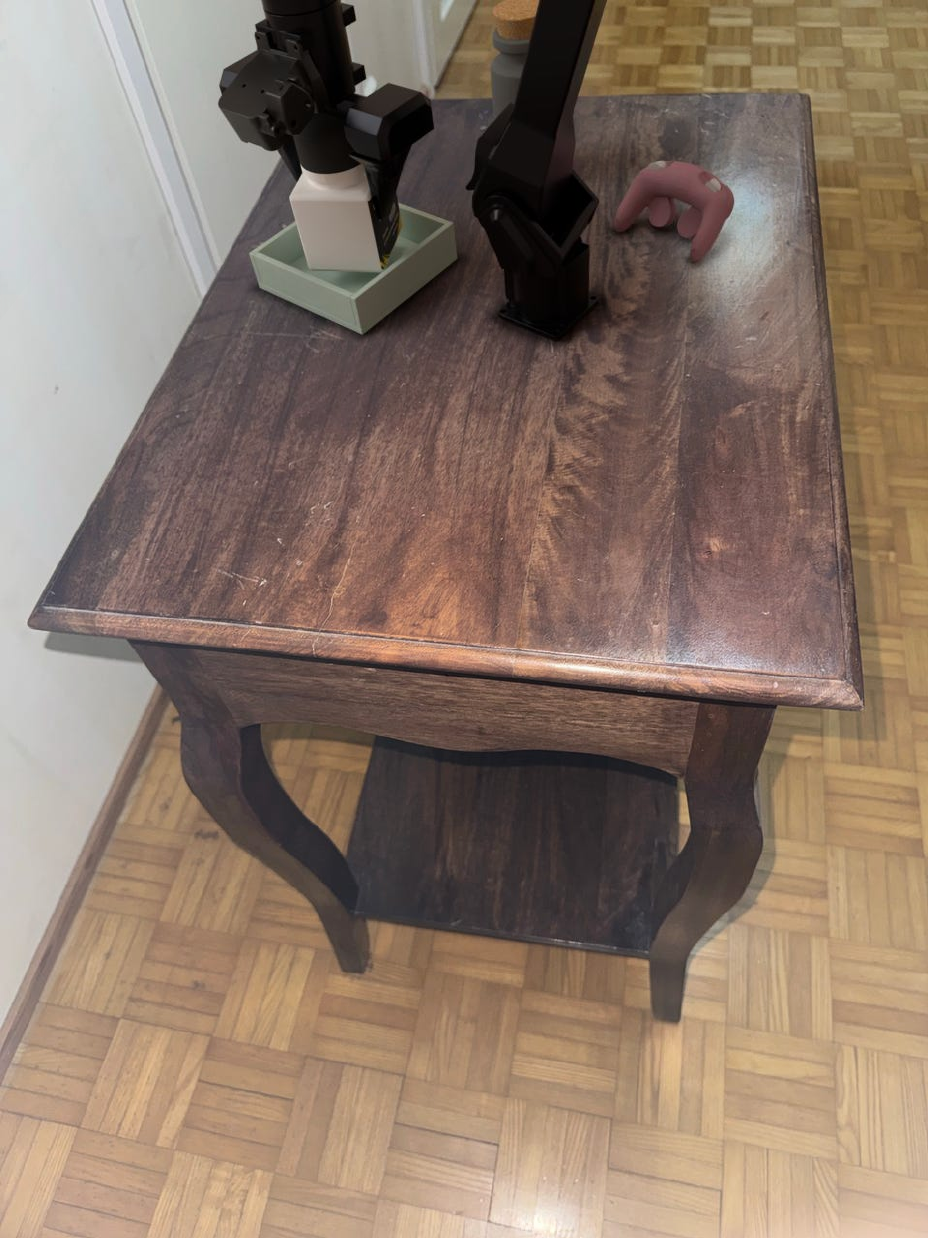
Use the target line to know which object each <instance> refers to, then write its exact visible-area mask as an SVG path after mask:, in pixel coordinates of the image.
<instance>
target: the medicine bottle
mask: <svg viewBox="0 0 928 1238" xmlns="http://www.w3.org/2000/svg"><path fill="white" fill-rule="evenodd" d="M344 124H345V120H342V119H339V118H336V117H333V116H329V115H326V114H323V113H314V116H313V117H312V119H311V120H310V121H309V123H308V124H307V125H306V127H305V128H304V129H303V131H302V132H301V133H300V135H299V136H293V138H294V142H295V146H296V149H297V153H298V157H299V161H300V165H301V169H302V172H303V173H302V175H301V177H300V178H299V180H298V182H296V184H295V185H294V188H293V189H292V190H291V193H290V194H289V203H290V206H291V209H292V214H293V217H294V222H295V221H296V224H297V228H298V231H299V235H300V238H301V242H302V246H303V249H304V253H305V256H306V260H307V263H308V267H309V269H310V270H312V271H344V272H378V273H381V272H383V271H384V270H385V268H386V265H387V263H388V261H389V258H390V256H391V253H392V251H393V249H394V246H395V244H396V241H397V239H398V237H399V234H400V232H401V230H402V221H401V215H400V210H399V204H398V203H399V198H398V194H397V192H396V195H395V198H394V202H393V206H392V209H391V213H390V215H389V216H388V217H387V218H386V219H384V220H383V221H382V220H379V219H378V216H377V214H376V211H375V208H374V205H373V201H372V197H371V193H370V189H369V185H368V180H367V176H366V172H365V168H364V166H363V165H362V164H361V163H359V162H358V161H356V160H355V159H353V158H352V157H350V156H349V153H351V152H352V151H354V149H353V147H352V146H351V145H350V143H349V142H348V141H347V138H346V133H345V128H344Z"/></svg>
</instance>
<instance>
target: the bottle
mask: <svg viewBox="0 0 928 1238" xmlns="http://www.w3.org/2000/svg"><path fill="white" fill-rule="evenodd" d="M538 4H539V0H503V1H501V2H499V3H498V4H496V5H495V6H494V7H493V10H492V14H493V18H494V22H495V26H496V27H495V28H494V30H493V31H492V33H491V35H492V46H493V47H494V49H495V50H496V51H498V52H499V53H498V54H497V55H496V56H495V57H494V58H493V59H492V61H491V63H490V83H491V84H490V85H491V99H492V113H493V117H492V118H493V120H494V119H495V118H496V116H497V115H498V114H499V113H500V112H501V110H502V109H503V108H504V107H505V106H506V104H507V103H508V102H511V103H513V104H514V103H515V99H516V95H517V91H518V86H519V82H520V78H521V74H522V70H523V66H524V62H525V57H526V53H527V49H528V45H529V41H530V37H531V33H532V28H533V24H534V20H535V16H536V12H537V8H538Z"/></svg>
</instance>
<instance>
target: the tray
mask: <svg viewBox="0 0 928 1238" xmlns="http://www.w3.org/2000/svg"><path fill="white" fill-rule="evenodd" d="M398 204H399V210H400V215H401V221H402V230H401V232H400V234H399V237H398V239H397V241H396V244H395V246H394V249H393V251H392V253H391V256H390V258H389V261H388V263H387V265H386V268H385V270H384V271H383V272H381V273H378V272H344V271H312V270H310V269H309V267H308V263H307V260H306V256H305V253H304V249H303V246H302V242H301V238H300V235H299V231H298V228H297V224H296V221H295V220H294V221H293V222H291V223H290V224H288V225H287V226H286V227H285V228H283V229H282V230H280V231H279V232H277V233H276V234H274V235H273V236H271V237H270V238H268V239H267V240H265V241H264V242H263V243H262V244H260V245H258V247H256V248H254V249H253V250H251V251H250V252H249V253H248V254H249V257H250V261H251V264H252V268H253V271H254V273H255V274H254V275H255V277H256V280H257V282H258V283H257V284H258V287H259V289H261V290H264V291H266V292H268V293H270V294H272V295H274V296H277V297H278V298H281V299H283V300H285V301H287V302H290V303H292V304H294V305H296V306H298V307H301V308H303V309H305V310H307V311H310V312H312V313H313V314H316V315H318V316H321V317H322V318H324V319H327V320H329V321H331V322H333V323H336V324H338V325H339V326H342V327H345V328H346V329H349V330H351V331H353V332H355V333H357V334H360V335H361V336H362V335H364V334H366V333H367V332H368V331H369V330H371V329H372V328H373V327H374V326H376V325H377V324H378V323H379V322H381V321H382V320H383V319H384V318H386V317H387V316H388V315H389V314H391V313H392V312H393V311H394V310H396V309H397V308H398V307H399V306H400V305H402V304H403V303H404V302H405V301H407V300H408V299H409V298H411V297H412V296H413V295H414V294H416V293H417V292H418V291H419V290H420V289H422V288H423V287H424V286H425V285H427V284H428V283H429V282H430V281H432V280H433V279H434V278H435V277H437V276H438V275H439V274H441V273H442V272H443V271H444V270H445V269H447V268H448V267H449V266H450V265H452V264H453V263H454V262H455V261H457V260H458V253H457V251H458V250H457V241H456V233H455V223H454V222H453V221H450V220H447V219H444V218H441V217H439V216H437V215H433V214H431V213H429V212H425V211H422V210H420V209H416V208H415V207H412V206H408V205H406V204H403V203H400V202H398Z"/></svg>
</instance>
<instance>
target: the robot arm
mask: <svg viewBox="0 0 928 1238" xmlns="http://www.w3.org/2000/svg"><path fill="white" fill-rule="evenodd" d="M260 2H261V5H262V10H263V14H264V19H262V20H260V21H258V22H257V23H255V24H254V27H255V31H254V34H253V35H254V40H255V43H256V50H254V51H252V52H250V53H249V54H247V55H246V56H244V57H242V58H241V59H239V60H237V61H235V62H233V63H232V64H230V65H228V66H227V67H224V68H223V70H222V74H221V77H220V79H219V84H218V87H219V90H220V94H221V95H220V97H219V98H218V102H217V106H218V108H219V110H220V112H222V114H223V116H224V117H225V119H226V121H227V122H228V123H229V125H230V126H231V128H232V129H233V131H234V132H235V134H236V135H237V137H238V138H239V140H240V141H241V142H243V143H245V144H252V145H255V146H258V147H260V148H262V149H263V150H265V151H268V152H275V151H276V152H278V154H279V156H280V157H281V159H282V160H283V163H284V165H285V166H286V167H287V169H288V171H289V172H290V174H291V175H292V177H293V179H294V181H295V182H296V183H297V182H298V180H299V178H300V177H301V175H302V173H303V172H302V169H301V165H300V161H299V157H298V153H297V149H296V146H295V142H294V138H293V136H299V135H300V133H301V132H302V131H303V129H304V128H305V127H306V125H307V124H308V123H309V121H310V120H311V119H312V117H313V116H314V113H323V114H326V115H329V116H333V117H336V118H339V119H342V120H345V124H344V128H345V133H346V138H347V141H348V142H349V143H350V145H351V146H352V147H353V149H354V151H352V152H351V153H349V156H350V157H352V158H353V159H355V160H356V161H358V162H359V163H361V164H362V165H363V166H364V168H365V172H366V176H367V180H368V185H369V189H370V193H371V197H372V201H373V205H374V208H375V211H376V214H377V216H378V219H379V220H382V221H383V220H384V219H386V218H387V217H388V216H389V215H390V213H391V209H392V206H393V202H394V198H395V195H396V193H397V191H398V188H399V184H400V180H401V178H402V173H403V170H404V166H405V164H406V162H407V160H408V157H409V154H410V151H411V148H412V146H413V145H414V144H416V143H417V142H418V141H419V140H421V139H423V137H425V136H426V135H428V134H429V133H431V132H432V131H434V130H435V124H434V122H435V121H434V115H433V108H432V107H433V106H432V100H431V99H430V98H429V97H428V96H426V94H424V93H423V92H422V91H419V90H415V89H412V88H408V87H405V86H401V85H397V84H394V83H391V82H387V83H385V84H384V85H382V86H381V87H379V88H378V89H376V90H374V91H373V92H372V93H370V94H369V95H367V96H366V95H363V94H360V93H356V92H357V89H356V86H358V85H359V84H360V83H362V82H364V81H366V80H367V74H366V73H367V72H366V67H365V64H361V63H358V62H354V61H353V57H352V52H351V48H350V42H349V37H348V36H349V35H348V30H347V27H348V26H351V25H352V24H354V23H355V22H356V21H357V17H356V11H355V5H353V4H349V3H345V2H342V0H260ZM607 2H608V0H539V4H538V8H537V12H536V16H535V20H534V24H533V28H532V33H531V37H530V41H529V45H528V49H527V53H526V57H525V62H524V66H523V70H522V74H521V78H520V82H519V86H518V91H517V95H516V99H515V103H514V104H513V103H511V102H508V103H507V104H506V106H505V107H504V108H503V109H502V110H501V112H500V113H499V114H498V115H497V116H496V118H495V119H494V118H493V119H492V121H491V122H490V123H489V125H488V126H487V127H486V129H484V131H483V132H482V133H481V134H480V136H479V137H478V138H477V141H476V145H475V150H474V167H473V173H472V176H471V178H470V180H469V182H467V184H466V185H465V187H464V188H465V190H466V191H470V192H471V191H473V193H472V196H471V210H472V211H471V212H472V215H473V216H474V218H476V219H477V220H478V222H479V224H480V226H481V227H482V228H483V229H484V231H485V234H486V236H487V239H488V241H489V244H490V245H491V248H492V250H493V253H494V256H495V259H496V260H497V263H498V265H499V267H500V269H502V270H503V279H504V280H503V281H504V282H503V283H504V296H505V299H506V300H508V301H507V302H506V303H505V304H503V305H502V306H501V307H500V308H499V309H498V310H497V317H498V319H501V320H503V321H505V322H508V323H511V324H513V325H516V326H518V327H520V328H522V329H525V330H528V331H530V332H532V333H534V334H537V335H539V336H542V337H545V338H546V339H549V340H552V341H559V340H561V339H562V338H563V337H564V336H565V335H567V334H568V332H570V331H571V330H572V329H573V328H574V327H575V326H576V325H577V324H578V323H580V322H581V321H582V319H584V318H585V317H586V316H587V315H588V314H589V313H590V312H592V310H594V309H595V308H596V307H597V306H598V305H599V303H600V296H599V295H597V294H595V293H592V292H590V258H591V257H590V256H591V255H590V254H591V245H590V244H587V243H585V242H583V238H582V237H581V236H582V234H583V233H584V231H585V230H586V228H587V227H588V225H590V224H591V222H592V221H593V219H594V216H595V215H596V211H597V209H598V206H599V204H600V199H599V197H598V196H597V195H596V194H595V193H594V192H593V190H592V189H591V188H590V187H589V186H588V184H587V183H586V182H585V181H584V180H583V178H581V176H580V175H579V174H578V173H577V172H576V171H575V169H574V168H573V166H574V161H575V160H574V158H575V152H576V151H575V150H576V141H577V140H576V130H575V123H574V114H575V109H576V105H577V101H578V98H579V95H580V91H581V88H582V85H583V81H584V78H585V75H586V71H587V68H588V64H589V62H590V58H591V55H592V52H593V48H594V45H595V42H596V39H597V35H598V32H599V28H600V26H601V22H602V19H603V15H604V13H605V9H606V6H607Z"/></svg>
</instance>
